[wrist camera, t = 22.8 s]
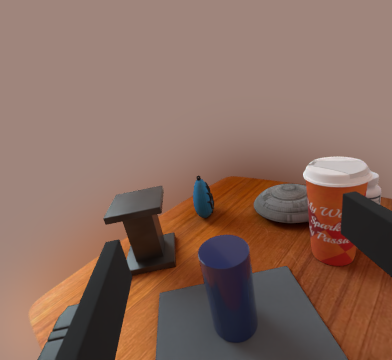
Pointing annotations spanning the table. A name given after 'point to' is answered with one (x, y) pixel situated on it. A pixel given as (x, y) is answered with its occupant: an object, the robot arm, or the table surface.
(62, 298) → the table surface
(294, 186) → the flying saucer
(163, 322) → the mat
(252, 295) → the canister
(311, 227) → the coffee cup
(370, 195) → the pill bottle
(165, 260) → the stand
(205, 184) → the ornament
